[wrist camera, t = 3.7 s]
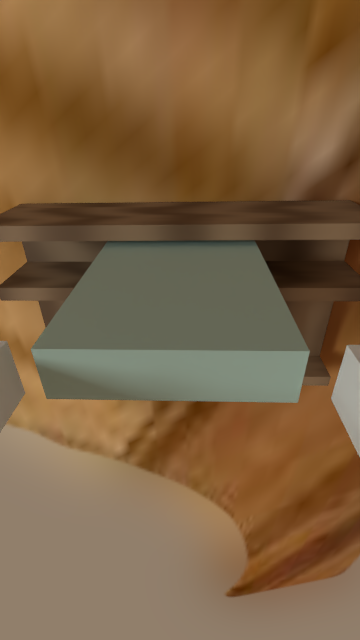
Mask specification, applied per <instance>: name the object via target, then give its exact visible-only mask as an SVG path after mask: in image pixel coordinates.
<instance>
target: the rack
mask: <svg viewBox="0 0 360 640" xmlns="http://www.w3.org/2000/svg"><path fill="white" fill-rule="evenodd" d="M187 240H255V242H256V244H257V246H258V248H259V250H260V252H261V254H262V256H263V258H264V260H265V262H266V264H267V266H268V268H269V270H270V272H271V274H272V276H273V278H274V280H275V282H276V284H277V286H278V288H279V290H280V292H281V294H282V296H283V298H284V300H285V302H286V304H287V306H288V308H289V310H290V312H291V314H292V316H293V318H294V321H295V323H296V325H297V327H298V329H299V331H300V333H301V335H302V337H303V339H304V341H305V343H306V345H307V347H308V349H309V351H310V353H309V357H308V361H307V365H306V370H305V374H304V378H303V382H302V385H327V386H328V384H329V381H330V375H329V373H328V371H327V369H326V367H325V366H324V364H323V362H322V360H321V358H320V352H321V348H322V344H323V340H324V337H325V333H326V329H327V325H328V321H329V317H330V313H331V310H332V306H333V302H334V301H360V275H359V274H358V273H357V272H355V271H354V270H353V269H352V268H351V267H350V266H349V265H348V264H347V263H346V262H345V261H344V259H345V255H346V252H347V248H348V244H349V240H360V205H358V204H356V203H354V202H352V201H351V200H340V201H245V202H149V203H53V204H20V205H18V206H16V207H14V208H12V209H10V210H8V211H6V212H4V213H2V214H0V242H8V241H22V244H23V247H24V251H25V254H26V258H27V263H25V264H24V265H23V266H22V267H21V268H20V269H18V270H17V271H16V272H15V273H14V274H13V275H11V276H10V277H9V278H8V279H7V280H6V281H4V282H3V283H2V284H1V285H0V299H1V300H31V301H39V305H40V308H41V312H42V316H43V319H44V323H45V327H47V326H48V324H49V323H50V321H51V320H52V319H53V317H54V316H55V314H56V313H57V312H58V310H59V309H60V307H61V306H62V305H63V303H64V302H65V300H66V299H67V297H68V296H69V295H70V293H71V292H72V290H73V289H74V288H75V286H76V285H77V283H78V282H79V281H80V279H81V278H82V276H83V275H84V274H85V272H86V271H87V269H88V268H89V267H90V265H91V264H92V262H93V261H94V260H95V258H96V257H97V255H98V254H99V253H100V251H101V250H102V248H103V247H104V246H105V244H106V243H107V241H187Z"/></svg>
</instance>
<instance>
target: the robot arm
mask: <svg viewBox="0 0 360 640" xmlns="http://www.w3.org/2000/svg"><path fill="white" fill-rule="evenodd" d="M24 394H25V391H24V388H23V385H22V383H21V380H20V377H19V374H18V371H17V368H16V366H15V363H14V360H13V357H12V354H11V351H10V348H9V346H8V343H7V341H0V432H1V430H2V429H3V427H4V426H5V424H6V422H7V421H8V419H9V418H10V416H11V415H12V413H13V411H14V410H15V408H16V407H17V405H18V404H19V402H20V401H21V399H22V397H23V396H24ZM331 400H332V402H333V404H334V406H335V408H336V410H337V412H338V414H339V416H340V418H341V420H342V422H343V424H344V426H345V428H346V430H347V432H348V434H349V436H350V439H351V441H352V443H353V445H354V447H355V449H356V451H357V453H358V455H359V457H360V345H347V347H346V351H345V354H344V357H343V361H342V364H341V367H340V371H339V374H338V377H337V381H336V384H335V387H334V391H333V394H332V397H331Z"/></svg>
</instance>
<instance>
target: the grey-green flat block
mask: <svg viewBox="0 0 360 640" xmlns="http://www.w3.org/2000/svg"><path fill="white" fill-rule="evenodd" d="M31 351H32V354H33V357H34V360H35V364H36V367H37V370H38V373H39V376H40V379H41V382H42V386H43V389H44V392H45V395H46V398H47V399H92V400H160V401H228V402H296V403H298V399H299V395H300V391H301V386H302V382H303V378H304V374H305V370H306V365H307V361H308V357H309V353H310V351H309V349H308V347H307V345H306V343H305V341H304V339H303V337H302V335H301V333H300V331H299V329H298V327H297V325H296V323H295V321H294V318H293V316H292V314H291V312H290V310H289V308H288V306H287V304H286V302H285V300H284V298H283V296H282V294H281V292H280V290H279V288H278V286H277V284H276V282H275V280H274V278H273V276H272V274H271V272H270V270H269V268H268V266H267V264H266V262H265V260H264V258H263V256H262V254H261V252H260V250H259V248H258V246H257V244H256V242H255V240H187V241H107V243H106V244H105V246H104V247H103V248H102V250H101V251H100V253H99V254H98V255H97V257H96V258H95V260H94V261H93V262H92V264H91V265H90V267H89V268H88V269H87V271H86V272H85V274H84V275H83V276H82V278H81V279H80V281H79V282H78V283H77V285H76V286H75V288H74V289H73V290H72V292H71V293H70V295H69V296H68V297H67V299H66V300H65V302H64V303H63V305H62V306H61V307H60V309H59V310H58V312H57V313H56V314H55V316H54V317H53V319H52V320H51V321H50V323H49V324H48V326H47V327H46V328H45V330H44V331H43V333H42V334H41V335H40V337H39V338H38V340H37V341H36V342H35V344H34V345H33V347H32V348H31Z"/></svg>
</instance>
